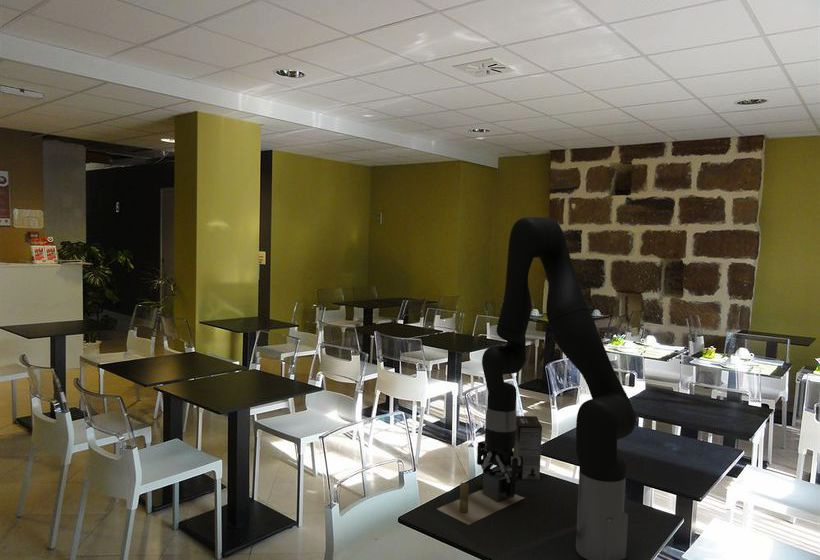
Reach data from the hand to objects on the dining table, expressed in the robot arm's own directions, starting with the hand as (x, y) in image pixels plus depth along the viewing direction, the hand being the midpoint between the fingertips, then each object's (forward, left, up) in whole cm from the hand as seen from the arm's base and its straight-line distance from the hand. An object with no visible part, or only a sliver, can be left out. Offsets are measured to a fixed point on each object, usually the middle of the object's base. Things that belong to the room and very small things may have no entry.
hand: (498, 489), depth 147 cm
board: (-1, +6, -3) cm, 7 cm away
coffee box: (+7, -17, -3) cm, 18 cm away
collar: (0, 0, -1) cm, 1 cm away
